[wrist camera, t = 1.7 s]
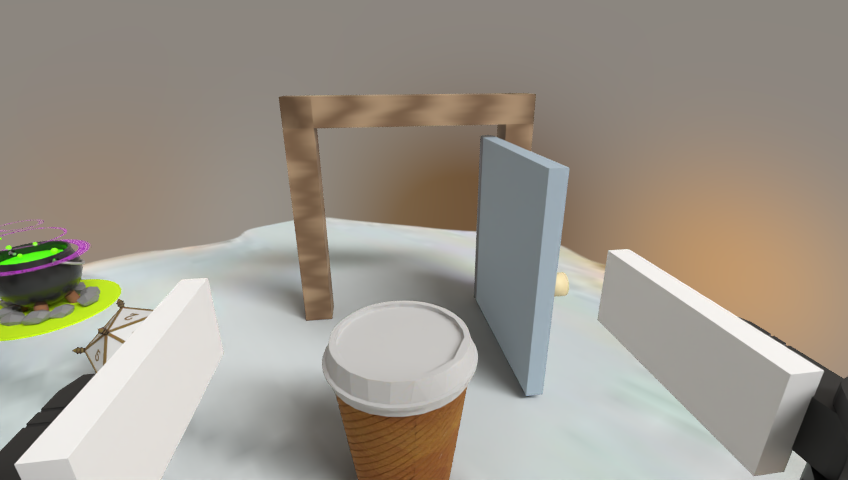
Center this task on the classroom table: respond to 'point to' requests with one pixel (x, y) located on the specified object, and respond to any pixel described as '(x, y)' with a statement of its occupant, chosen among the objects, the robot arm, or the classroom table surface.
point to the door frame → (372, 112)
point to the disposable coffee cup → (401, 387)
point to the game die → (113, 334)
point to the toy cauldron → (47, 289)
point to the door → (519, 252)
